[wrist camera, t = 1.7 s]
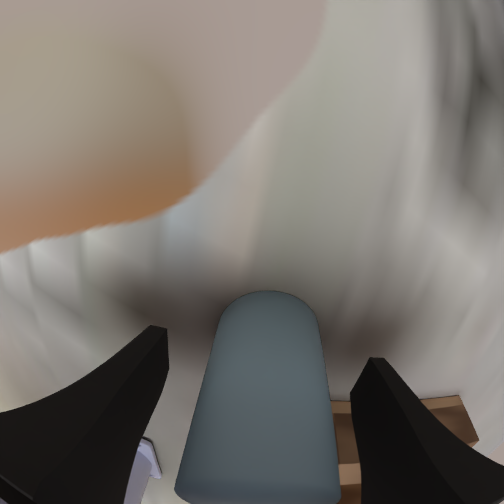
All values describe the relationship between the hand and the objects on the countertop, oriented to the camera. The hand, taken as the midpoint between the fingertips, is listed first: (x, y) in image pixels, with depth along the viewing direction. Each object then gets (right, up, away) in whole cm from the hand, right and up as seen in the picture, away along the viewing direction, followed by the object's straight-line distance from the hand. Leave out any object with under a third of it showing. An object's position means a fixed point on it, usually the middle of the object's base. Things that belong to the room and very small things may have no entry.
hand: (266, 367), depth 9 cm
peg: (0, +1, +2) cm, 2 cm away
